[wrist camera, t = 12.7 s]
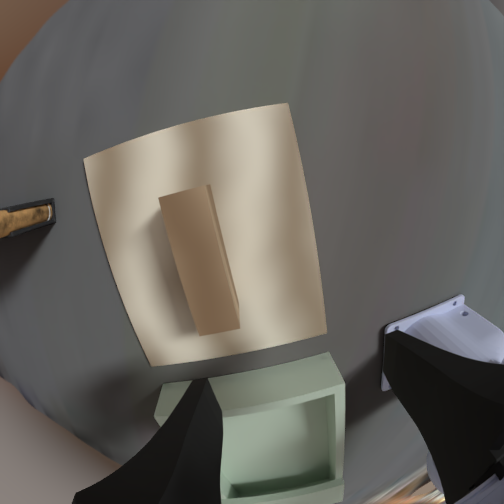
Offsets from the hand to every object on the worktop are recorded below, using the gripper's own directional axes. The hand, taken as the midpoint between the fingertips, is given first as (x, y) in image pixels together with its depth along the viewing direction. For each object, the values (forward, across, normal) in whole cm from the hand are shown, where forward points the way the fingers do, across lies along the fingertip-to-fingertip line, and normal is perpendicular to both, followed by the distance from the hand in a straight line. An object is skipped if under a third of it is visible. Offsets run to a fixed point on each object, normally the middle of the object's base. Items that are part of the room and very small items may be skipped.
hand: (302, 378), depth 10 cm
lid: (+10, +4, -4) cm, 11 cm away
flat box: (+9, +4, +19) cm, 21 cm away
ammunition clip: (+9, +20, -10) cm, 24 cm away
